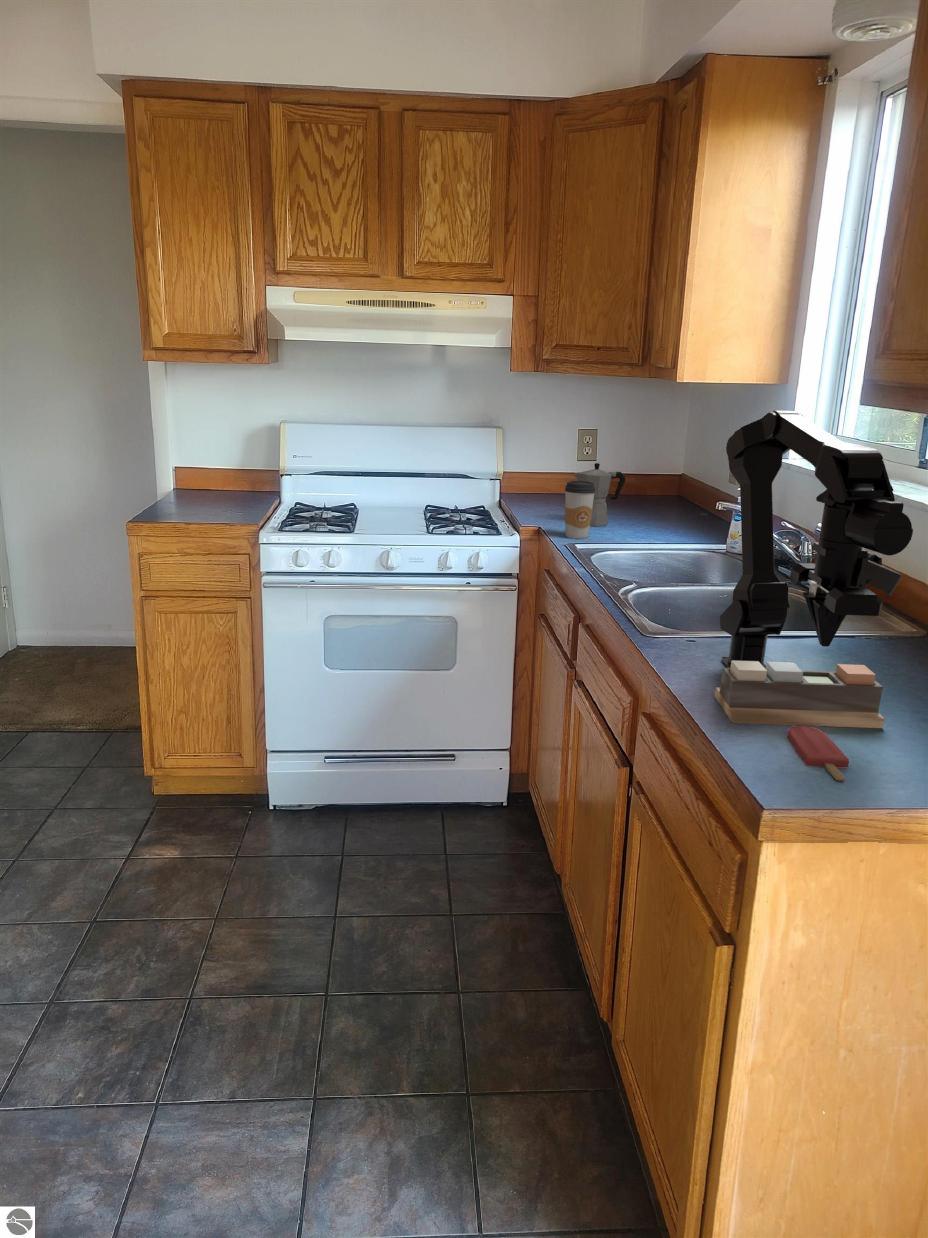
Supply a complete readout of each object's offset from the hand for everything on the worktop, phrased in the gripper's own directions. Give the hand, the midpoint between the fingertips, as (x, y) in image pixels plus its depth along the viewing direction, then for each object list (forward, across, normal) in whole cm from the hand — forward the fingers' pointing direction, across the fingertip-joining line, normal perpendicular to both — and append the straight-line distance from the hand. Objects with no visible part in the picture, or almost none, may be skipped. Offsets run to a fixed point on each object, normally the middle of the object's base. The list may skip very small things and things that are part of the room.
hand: (824, 645), depth 130 cm
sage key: (+8, 0, 0) cm, 8 cm away
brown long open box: (+10, 0, +3) cm, 11 cm away
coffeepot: (+10, +142, +14) cm, 143 cm away
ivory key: (+7, 0, +10) cm, 12 cm away
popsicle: (+11, -15, +5) cm, 19 cm away
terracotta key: (+6, 0, -5) cm, 8 cm away
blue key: (+7, 0, +5) cm, 8 cm away
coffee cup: (+10, +122, +22) cm, 125 cm away
